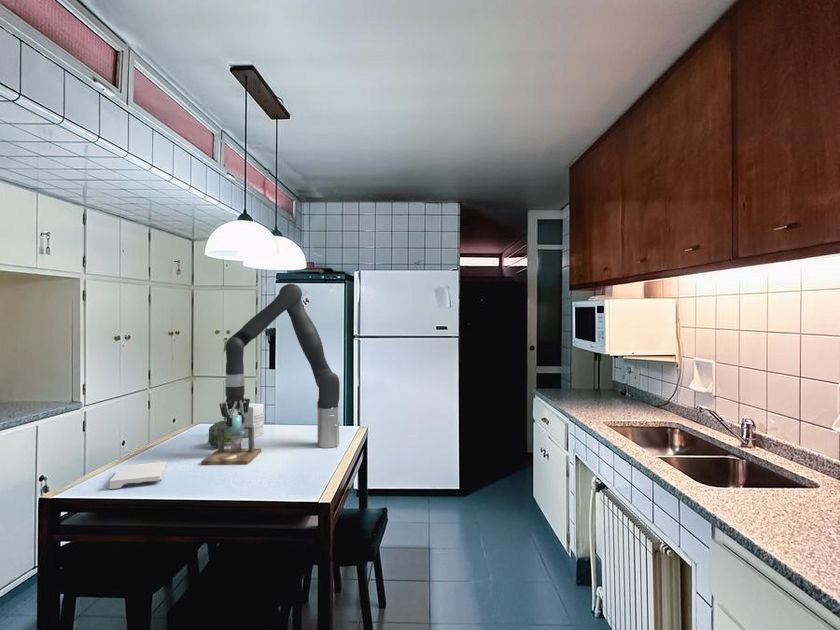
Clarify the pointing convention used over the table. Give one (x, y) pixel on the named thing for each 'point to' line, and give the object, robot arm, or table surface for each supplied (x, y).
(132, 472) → the food packaging
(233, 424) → the teal rounded body
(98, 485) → the table surface
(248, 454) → the board with gray uprights
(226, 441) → the vegetable
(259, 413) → the supplement box
